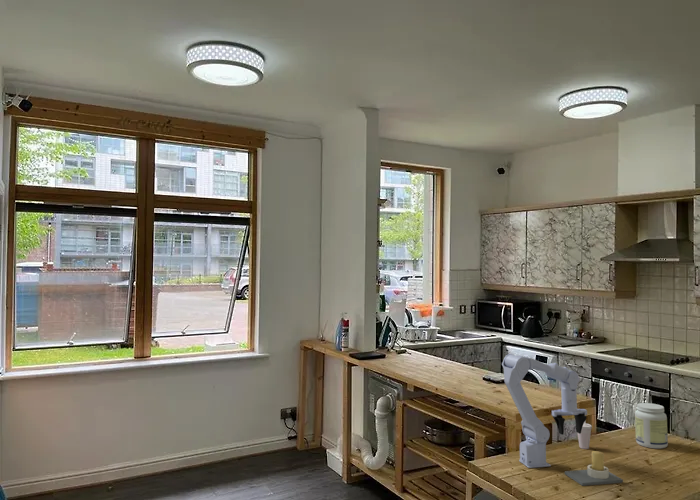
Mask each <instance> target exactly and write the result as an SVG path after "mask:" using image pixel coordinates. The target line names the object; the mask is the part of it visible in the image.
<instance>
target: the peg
mask: <svg viewBox="0 0 700 500" xmlns="http://www.w3.org/2000/svg"><path fill="white" fill-rule="evenodd" d="M590 454H591V465H592V469H593V470H596V471H604V466H605V464H604V463H605V462H604V460H605V459H604V455H605V454H604V452H602V451H599V450H592V451H591V452H590Z"/></svg>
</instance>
